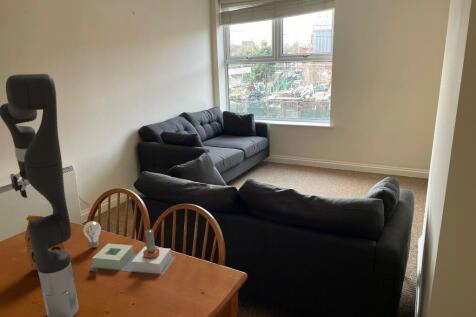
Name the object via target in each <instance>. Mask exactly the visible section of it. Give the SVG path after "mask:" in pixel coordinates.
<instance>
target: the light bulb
mask: <svg viewBox="0 0 476 317" xmlns="http://www.w3.org/2000/svg"><path fill="white" fill-rule="evenodd" d="M101 231H102V227H101V225H100V223H99V222H98V221H95V220H94V221H93V220H91V221H88V222H87V223H85V224H84V227H83V234H84V235H85V237H87V239H88V241H89V246H90V247H91V248H93V249H95V248H97V247H98V246H99V239H100V238H99V236H100V234H101Z"/></svg>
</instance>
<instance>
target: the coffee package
mask: <svg viewBox="0 0 476 317" xmlns="http://www.w3.org/2000/svg"><path fill="white" fill-rule="evenodd" d="M43 217H44V216H42V215H33V214H32V215H28V216H27V217H26V221H28V222H27V227H26V229H25V230H26V231H25V234H24V240H25V244H26V245H25V246H26V249H27V254H28V255H27V256H28V260H29V264H30V268H31V270H33V271H37V272H38V268H37V264H36V260H35V257H34V252H33V248H32V245H31V241H30V238H29V233H28V225H29V223H30V222H31V221H34V220H37V219H40V218H43ZM48 250H63V251H66V249H65V245H64V242H63V243H60V244H58V245H55V246H53V247H50V248H48Z"/></svg>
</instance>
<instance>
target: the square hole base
mask: <svg viewBox="0 0 476 317" xmlns="http://www.w3.org/2000/svg"><path fill="white" fill-rule="evenodd" d="M155 248H158V249H159V252H160V254H159V256H157V257H155V258H151V259H148V258H145V257H144V255H143V252H144V250H146V249H147V246H144V247H143V248H142V249H141V250H140V251H139V252H138V253H135V252H134V245H132V244H131V245H130V244H119V243H118V244H117V243H107V244H106V245H104V246H103V247H102V249H100V250H99V251H98V252H97V253H96V254H95V255H94V256H93V257H92V265H90V266H89V271H90V272H98V271H99V270H100V269H102V270H110V271H111V270H112V271H120V272H129V273H130V272H132V273H141V274H152V275H162V276H164V274H165V273H166V272H167V270H168V269H169V267H170V266H171V265H172V263H173V262H174V260H175V258H176V257H175V256H172V249H171V248H164V247H156V246H155Z"/></svg>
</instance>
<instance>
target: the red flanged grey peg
mask: <svg viewBox="0 0 476 317" xmlns="http://www.w3.org/2000/svg"><path fill="white" fill-rule="evenodd" d="M144 235H145V243H146V247H147V249H146V250H144V252H143V255H144V257H145V258H148V259H151V258H155V257H157V256H159V254H160V252H159V249H158V248H159V247H156V245H155V235H154V229H152V228H151V229H150V228H149V229H146V230H145V231H144ZM155 247H156V248H155Z"/></svg>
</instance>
